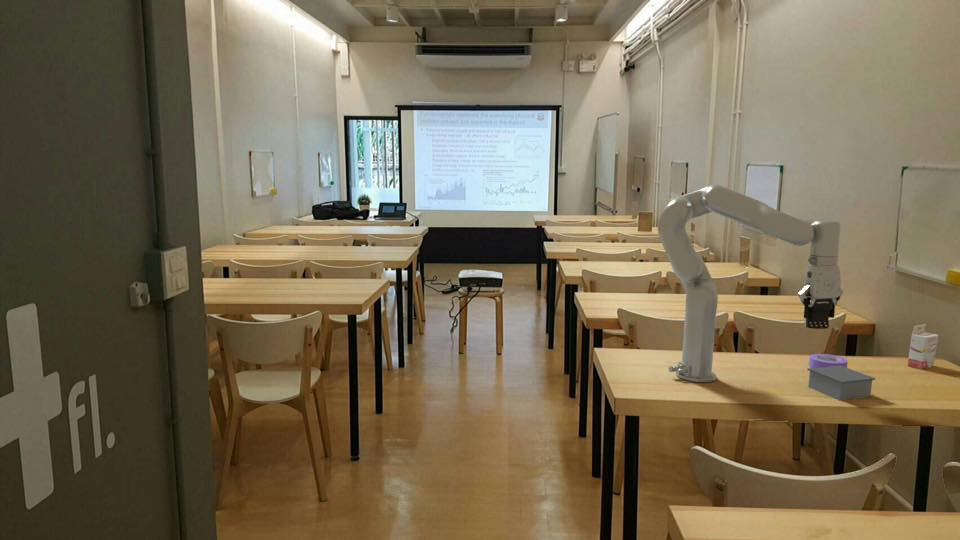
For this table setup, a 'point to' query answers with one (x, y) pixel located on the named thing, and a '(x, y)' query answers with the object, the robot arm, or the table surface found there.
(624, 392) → the table surface
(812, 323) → the battery charger
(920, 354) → the ink cartridge box
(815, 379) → the stand
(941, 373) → the table surface
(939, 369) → the table surface
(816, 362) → the masking tape
